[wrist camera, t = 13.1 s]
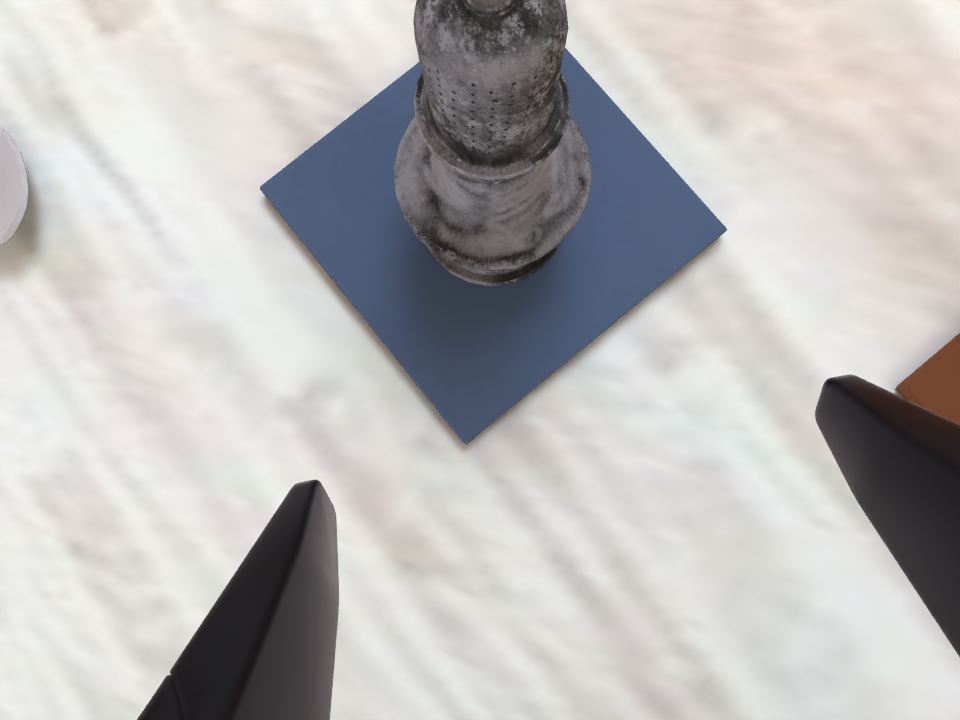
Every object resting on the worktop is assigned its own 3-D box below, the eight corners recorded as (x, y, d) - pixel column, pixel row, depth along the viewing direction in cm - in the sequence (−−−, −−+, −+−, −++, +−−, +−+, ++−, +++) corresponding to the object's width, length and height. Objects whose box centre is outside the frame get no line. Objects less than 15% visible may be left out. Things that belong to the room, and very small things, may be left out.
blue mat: (466, 444, 21) (465, 445, 20) (264, 193, 22) (258, 187, 21) (721, 234, 21) (728, 229, 20) (512, -1, 22) (512, -13, 21)
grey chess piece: (516, 326, 20) (548, 201, 8) (379, 237, 21) (221, -2, 9) (606, 189, 21) (759, -117, 9) (469, 105, 21) (436, -297, 9)
